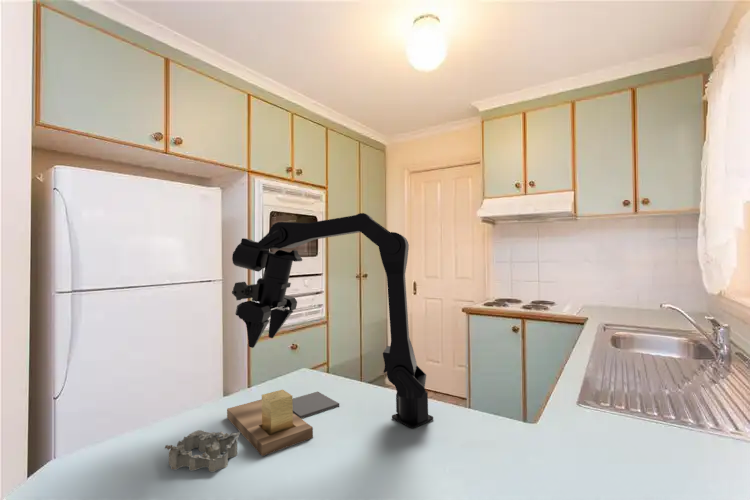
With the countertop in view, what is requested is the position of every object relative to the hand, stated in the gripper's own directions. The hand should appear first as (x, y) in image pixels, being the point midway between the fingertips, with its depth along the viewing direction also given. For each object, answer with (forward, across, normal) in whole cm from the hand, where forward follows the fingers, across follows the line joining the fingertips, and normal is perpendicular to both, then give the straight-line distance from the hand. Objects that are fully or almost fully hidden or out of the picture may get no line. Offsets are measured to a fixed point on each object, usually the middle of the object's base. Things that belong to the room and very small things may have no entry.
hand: (261, 342), depth 83 cm
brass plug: (+13, +11, +13) cm, 21 cm away
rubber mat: (+12, -4, +14) cm, 19 cm away
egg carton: (+15, +20, +4) cm, 26 cm away
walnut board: (+14, +8, +9) cm, 18 cm away
